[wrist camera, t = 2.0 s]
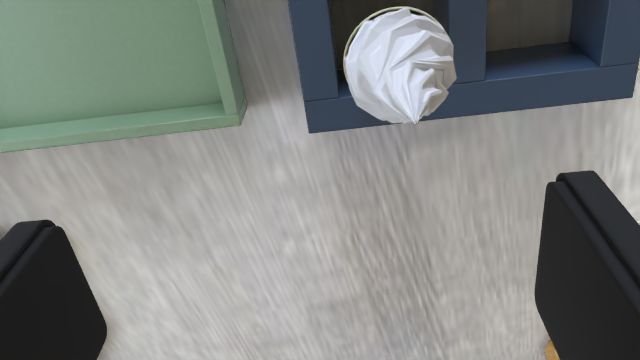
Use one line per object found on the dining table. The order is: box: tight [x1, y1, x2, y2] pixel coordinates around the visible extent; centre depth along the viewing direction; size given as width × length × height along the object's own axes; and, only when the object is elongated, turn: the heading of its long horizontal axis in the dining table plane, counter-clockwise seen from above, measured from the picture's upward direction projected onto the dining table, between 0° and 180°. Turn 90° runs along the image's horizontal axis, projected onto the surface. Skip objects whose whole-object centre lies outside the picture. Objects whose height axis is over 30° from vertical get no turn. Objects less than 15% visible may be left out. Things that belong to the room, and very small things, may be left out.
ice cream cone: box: [343, 6, 457, 124], centre depth 26 cm, size 5×5×15 cm
